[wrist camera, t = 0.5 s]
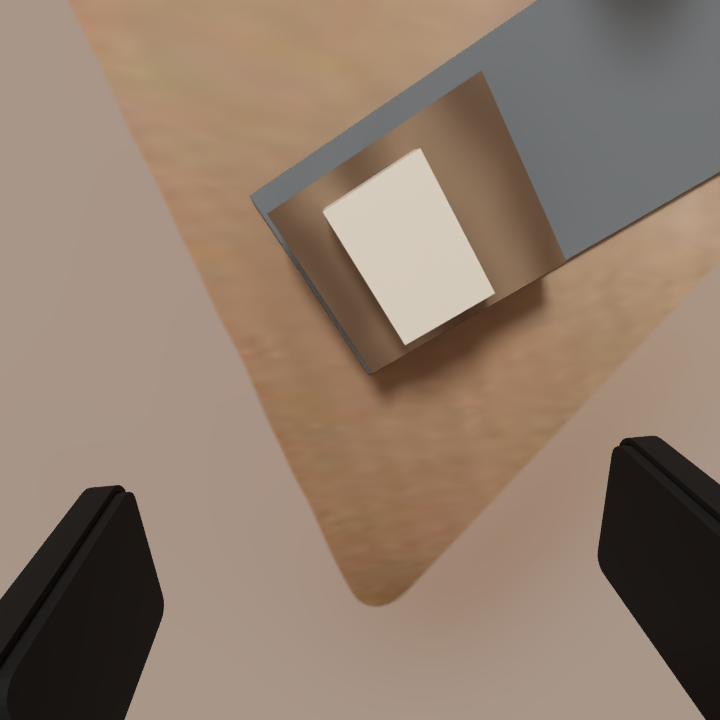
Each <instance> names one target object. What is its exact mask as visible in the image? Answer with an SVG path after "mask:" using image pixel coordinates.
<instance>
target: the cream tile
mask: <svg viewBox="0 0 720 720" xmlns="http://www.w3.org/2000/svg"><path fill="white" fill-rule="evenodd" d="M323 213H324V215H325V217H326V218H327V220H328V221H329V223H330V225H331V226H332V228H333V230H334V231H335V233H336V234H337V236H338V238H339V239H340V241H341V243H342V244H343V246H344V247H345V249H346V251H347V252H348V254H349V255H350V257H351V259H352V260H353V262H354V264H355V265H356V267H357V268H358V270H359V272H360V273H361V275H362V276H363V278H364V280H365V281H366V283H367V285H368V286H369V288H370V289H371V291H372V293H373V294H374V296H375V297H376V299H377V301H378V302H379V304H380V306H381V307H382V309H383V310H384V312H385V314H386V315H387V317H388V318H389V320H390V322H391V323H392V325H393V327H394V328H395V330H396V331H397V333H398V335H399V336H400V338H401V339H402V341H403V343H404V344H405V345H407V344H408V343H410V342H412V341H413V340H415V339H417V338H419V337H420V336H422V335H424V334H426V333H427V332H429V331H431V330H432V329H434V328H436V327H438V326H439V325H441V324H443V323H445V322H446V321H448V320H450V319H451V318H453V317H455V316H457V315H458V314H460V313H462V312H464V311H465V310H467V309H469V308H470V307H472V306H474V305H476V304H477V303H479V302H481V301H483V300H484V299H486V298H488V297H489V296H491V295H493V294H495V292H494V290H493V288H492V286H491V284H490V282H489V280H488V279H487V277H486V275H485V273H484V271H483V269H482V267H481V265H480V263H479V261H478V259H477V257H476V255H475V253H474V251H473V249H472V247H471V246H470V244H469V242H468V240H467V238H466V236H465V234H464V232H463V230H462V228H461V226H460V224H459V222H458V220H457V218H456V216H455V214H454V213H453V211H452V209H451V207H450V205H449V203H448V201H447V199H446V197H445V195H444V193H443V191H442V189H441V187H440V185H439V183H438V182H437V180H436V178H435V176H434V174H433V172H432V170H431V168H430V166H429V164H428V162H427V160H426V158H425V156H424V154H423V152H422V150H421V149H420V148H419V149H415V150H413V151H411V152H410V153H408V154H407V155H405V156H403V157H402V158H400V159H399V160H397V161H396V162H394V163H393V164H391V165H390V166H388V167H387V168H385V169H384V170H382V171H381V172H379V173H377V174H376V175H374V176H373V177H371V178H370V179H368V180H367V181H365V182H364V183H362V184H361V185H359V186H358V187H356V188H355V189H353V190H352V191H350V192H348V193H347V194H345V195H344V196H342V197H341V198H339V199H338V200H336V201H335V202H333V203H332V204H330V205H329V206H327V207H326V208H324V210H323Z"/></svg>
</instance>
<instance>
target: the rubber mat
mask: <svg viewBox="0 0 720 720" xmlns="http://www.w3.org/2000/svg"><path fill="white" fill-rule="evenodd" d="M481 70H482V72H483V74H484V76H485V79H486V81H487V83H488V86H489V88H490V90H491V92H492V95H493V97H494V99H495V101H496V104H497V106H498V108H499V110H500V113H501V115H502V117H503V119H504V122H505V124H506V126H507V128H508V131H509V133H510V135H511V137H512V140H513V142H514V144H515V146H516V149H517V151H518V153H519V155H520V158H521V160H522V162H523V164H524V167H525V169H526V171H527V173H528V176H529V178H530V180H531V183H532V185H533V187H534V189H535V192H536V194H537V196H538V198H539V201H540V203H541V205H542V207H543V210H544V212H545V214H546V216H547V219H548V221H549V223H550V225H551V228H552V230H553V232H554V234H555V237H556V239H557V241H558V243H559V246H560V248H561V250H562V252H563V255H564V257H565V259H566V260H567V259H569V258H571V257H573V256H574V255H576V254H578V253H580V252H581V251H583V250H585V249H586V248H588V247H590V246H592V245H593V244H595V243H597V242H599V241H600V240H602V239H604V238H606V237H607V236H609V235H611V234H613V233H614V232H616V231H618V230H619V229H621V228H623V227H625V226H626V225H628V224H630V223H632V222H633V221H635V220H637V219H639V218H640V217H642V216H644V215H646V214H647V213H649V212H651V211H653V210H654V209H656V208H658V207H659V206H661V205H663V204H665V203H666V202H668V201H670V200H672V199H673V198H675V197H677V196H679V195H680V194H682V193H684V192H686V191H687V190H689V189H691V188H692V187H694V186H696V185H698V184H699V183H701V182H703V181H705V180H706V179H708V178H710V177H712V176H713V175H715V174H717V173H719V172H720V0H537V1H536V2H534V3H533V4H531V5H530V6H528V7H527V8H525V9H524V10H522V11H521V12H519V13H518V14H517V15H515V16H514V17H512V18H511V19H509V20H508V21H506V22H505V23H503V24H502V25H500V26H499V27H497V28H496V29H494V30H493V31H492V32H490V33H489V34H487V35H486V36H484V37H483V38H481V39H480V40H478V41H477V42H475V43H474V44H472V45H471V46H470V47H468V48H467V49H465V50H464V51H462V52H461V53H459V54H458V55H456V56H455V57H453V58H452V59H450V60H449V61H447V62H446V63H445V64H443V65H442V66H440V67H439V68H437V69H436V70H434V71H433V72H431V73H430V74H428V75H427V76H425V77H424V78H422V79H421V80H420V81H418V82H417V83H415V84H414V85H412V86H411V87H409V88H408V89H406V90H405V91H403V92H402V93H400V94H399V95H398V96H396V97H395V98H393V99H392V100H390V101H389V102H387V103H386V104H384V105H383V106H381V107H380V108H378V109H377V110H375V111H374V112H373V113H371V114H370V115H368V116H367V117H365V118H364V119H362V120H361V121H359V122H358V123H356V124H355V125H353V126H352V127H350V128H349V129H348V130H346V131H345V132H343V133H342V134H340V135H339V136H337V137H336V138H334V139H333V140H331V141H330V142H328V143H327V144H326V145H324V146H323V147H321V148H320V149H318V150H317V151H315V152H314V153H312V154H311V155H309V156H308V157H306V158H305V159H303V160H302V161H301V162H299V163H298V164H296V165H295V166H293V167H292V168H290V169H289V170H287V171H286V172H284V173H283V174H281V175H280V176H278V177H277V178H276V179H274V180H273V181H271V182H270V183H268V184H267V185H265V186H264V187H262V188H261V189H259V190H258V191H256V192H255V193H253V194H252V195H251V196H250V198H251V199H252V201H253V202H254V204H255V205H256V207H257V208H258V210H259V211H260V213H261V214H262V216H263V217H264V219H265V220H266V222H267V223H268V225H269V226H270V228H271V229H272V231H273V232H274V234H275V235H276V237H277V238H278V240H279V241H280V243H281V244H282V246H283V247H284V249H285V250H286V252H287V253H288V255H289V256H290V258H291V259H292V261H293V262H294V264H295V265H296V267H297V268H298V270H299V271H300V273H301V274H302V276H303V277H304V279H305V280H306V282H307V283H308V285H309V286H310V288H311V289H312V291H313V292H314V294H315V295H316V297H317V298H318V300H319V301H320V303H321V304H322V306H323V307H324V309H325V310H326V312H327V313H328V315H329V316H330V318H331V319H332V321H333V322H334V324H335V325H336V327H337V328H338V330H339V331H340V332H341V334H342V335H343V337H344V338H345V340H346V341H347V343H348V344H349V346H350V347H351V349H352V350H353V352H354V353H355V355H356V356H357V358H358V359H359V361H360V362H361V364H362V365H363V367H364V368H365V370H366V371H367V373H368V374H369V373H371V370H370V369H369V367H368V366H367V364H366V363H365V361H364V360H363V358H362V357H361V355H360V354H359V352H358V351H357V349H356V348H355V346H354V345H353V343H352V341H351V340H350V338H349V337H348V335H347V334H346V332H345V331H344V329H343V328H342V326H341V325H340V323H339V322H338V320H337V319H336V317H335V316H334V314H333V313H332V311H331V310H330V308H329V307H328V305H327V304H326V302H325V301H324V299H323V298H322V296H321V295H320V293H319V292H318V290H317V289H316V287H315V286H314V284H313V283H312V281H311V280H310V278H309V277H308V275H307V274H306V272H305V271H304V269H303V268H302V266H301V265H300V263H299V262H298V260H297V259H296V257H295V256H294V254H293V253H292V251H291V250H290V248H289V247H288V245H287V244H286V242H285V241H284V239H283V238H282V236H281V235H280V233H279V232H278V230H277V228H276V227H275V225H274V224H273V222H272V221H271V219H270V218H269V216H268V215H267V213H269V212H270V211H272V210H273V209H275V208H276V207H278V206H279V205H281V204H282V203H284V202H285V201H287V200H288V199H290V198H291V197H293V196H294V195H296V194H297V193H299V192H300V191H302V190H303V189H305V188H306V187H308V186H309V185H311V184H312V183H314V182H315V181H317V180H318V179H320V178H321V177H323V176H324V175H326V174H327V173H329V172H330V171H332V170H333V169H335V168H336V167H338V166H339V165H341V164H342V163H344V162H345V161H347V160H348V159H350V158H351V157H353V156H354V155H356V154H357V153H359V152H360V151H362V150H363V149H365V148H366V147H368V146H369V145H371V144H372V143H374V142H375V141H377V140H378V139H380V138H381V137H382V136H384V135H385V134H387V133H388V132H390V131H391V130H393V129H394V128H396V127H397V126H399V125H400V124H402V123H403V122H405V121H406V120H408V119H409V118H411V117H412V116H414V115H415V114H417V113H418V112H420V111H421V110H423V109H424V108H426V107H427V106H429V105H430V104H432V103H433V102H435V101H436V100H438V99H439V98H441V97H442V96H444V95H445V94H447V93H448V92H450V91H451V90H453V89H454V88H456V87H457V86H459V85H460V84H462V83H463V82H465V81H466V80H468V79H469V78H471V77H472V76H474V75H475V74H477V73H478V72H480V71H481Z"/></svg>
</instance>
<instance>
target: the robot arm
mask: <svg viewBox="0 0 720 720" xmlns="http://www.w3.org/2000/svg"><path fill="white" fill-rule="evenodd" d="M598 561H599V565H600V568H601V570H602V572H603V574H604V575H605V576H606V578H607V579H608V581H609V582H610V584H611V585H612V587H613V588H614V589H615V591H616V592H617V594H618V595H619V596H620V598H621V599H622V601H623V602H624V604H625V605H626V607H627V608H628V609H629V611H630V612H631V614H632V615H633V617H634V618H635V619H636V621H637V622H638V624H639V625H640V626H641V628H642V629H643V631H644V632H645V634H646V635H647V637H648V638H649V639H650V641H651V642H652V644H653V645H654V646H655V648H656V649H657V651H658V652H659V654H660V655H661V656H662V658H663V659H664V661H665V662H666V664H667V665H668V667H669V668H670V669H671V671H672V672H673V674H674V675H675V676H676V678H677V679H678V681H679V682H680V684H681V685H682V687H683V688H684V689H685V691H686V692H687V694H688V695H689V697H690V698H691V699H692V701H693V702H694V703H695V705H696V706H697V708H698V709H699V711H700V712H701V714H702V715H703V716H704V718H705V719H706V720H720V484H718V483H717V482H715V480H713V479H712V478H711V477H709V476H708V475H707V474H706V473H704V472H703V471H702V470H700V469H699V468H698V467H696V466H695V465H694V464H693V463H692V462H690V461H689V460H688V459H686V458H685V457H684V456H682V455H681V454H680V453H679V452H677V451H676V450H675V449H674V448H672V447H671V446H670V445H668V444H667V443H666V442H665V441H663V440H662V439H661V438H659V437H657V436H644V437H634V438H626V439H623V440H622V442H621V443H620V445H619V446H617V447H615V448H614V450H613V453H612V457H611V464H610V471H609V478H608V485H607V491H606V499H605V506H604V512H603V519H602V526H601V534H600V540H599V547H598ZM163 610H164V599H163V595H162V591H161V588H160V584H159V580H158V577H157V573H156V570H155V566H154V563H153V559H152V556H151V552H150V548H149V545H148V542H147V538H146V535H145V531H144V527H143V524H142V520H141V517H140V513H139V509H138V506H137V502H136V499H135V496H134V494H133V493H132V492H125V489H124V488H123V487H122V486H120V485H116V486H104V487H93V488H88V489H86V490H85V491H84V492H83V493H82V494H81V495H80V497H79V498H78V499H77V501H76V502H75V503H74V505H73V506H72V507H71V508H70V510H69V511H68V512H67V514H66V515H65V516H64V518H63V519H62V520H61V522H60V523H59V524H58V525H57V527H56V528H55V529H54V531H53V532H52V533H51V534H50V536H49V537H48V538H47V540H46V541H45V542H44V544H43V545H42V546H41V547H40V549H39V550H38V551H37V553H36V554H35V555H34V557H33V558H32V559H31V560H30V562H29V563H28V564H27V566H26V567H25V568H24V570H23V571H22V572H21V573H20V575H19V576H18V577H17V579H16V580H15V581H14V583H13V584H12V585H11V587H10V588H9V589H8V590H7V592H6V593H5V594H4V596H3V597H2V598H1V600H0V720H124V719H125V716H126V714H127V711H128V709H129V706H130V703H131V700H132V698H133V695H134V692H135V690H136V687H137V684H138V682H139V679H140V676H141V674H142V671H143V668H144V665H145V663H146V660H147V657H148V655H149V652H150V649H151V646H152V644H153V641H154V638H155V636H156V633H157V630H158V628H159V625H160V622H161V619H162V616H163Z"/></svg>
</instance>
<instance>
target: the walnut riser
mask: <svg viewBox="0 0 720 720" xmlns="http://www.w3.org/2000/svg"><path fill="white" fill-rule="evenodd" d="M419 148H420V149H421V150H422V152H423V154H424V156H425V158H426V160H427V162H428V164H429V166H430V168H431V170H432V172H433V174H434V176H435V178H436V180H437V182H438V183H439V185H440V187H441V189H442V191H443V193H444V195H445V197H446V199H447V201H448V203H449V205H450V207H451V209H452V211H453V213H454V214H455V216H456V218H457V220H458V222H459V224H460V226H461V228H462V230H463V232H464V234H465V236H466V238H467V240H468V242H469V244H470V246H471V247H472V249H473V251H474V253H475V255H476V257H477V259H478V261H479V263H480V265H481V267H482V269H483V271H484V273H485V275H486V277H487V279H488V280H489V282H490V284H491V286H492V288H493V290H494V292H495V294H493V295H491V296H489V297H488V298H486V299H484V300H483V301H481V302H479V303H477V304H476V305H474V306H472V307H470V308H469V309H467V310H465V311H464V312H462V313H460V314H458V315H457V316H455V317H453V318H451V319H450V320H448V321H446V322H445V323H443V324H441V325H439V326H438V327H436V328H434V329H432V330H431V331H429V332H427V333H426V334H424V335H422V336H420V337H419V338H417V339H415V340H413V341H412V342H410V343H408V344H407V345H405V344H404V343H403V341H402V339H401V338H400V336H399V335H398V333H397V331H396V330H395V328H394V327H393V325H392V323H391V322H390V320H389V318H388V317H387V315H386V314H385V312H384V310H383V309H382V307H381V306H380V304H379V302H378V301H377V299H376V297H375V296H374V294H373V293H372V291H371V289H370V288H369V286H368V285H367V283H366V281H365V280H364V278H363V276H362V275H361V273H360V272H359V270H358V268H357V267H356V265H355V264H354V262H353V260H352V259H351V257H350V255H349V254H348V252H347V251H346V249H345V247H344V246H343V244H342V243H341V241H340V239H339V238H338V236H337V234H336V233H335V231H334V230H333V228H332V226H331V225H330V223H329V221H328V220H327V218H326V217H325V215H324V213H323V210H324V208H326V207H327V206H329V205H330V204H332V203H333V202H335V201H336V200H338V199H339V198H341V197H342V196H344V195H345V194H347V193H348V192H350V191H352V190H353V189H355V188H356V187H358V186H359V185H361V184H362V183H364V182H365V181H367V180H368V179H370V178H371V177H373V176H374V175H376V174H377V173H379V172H381V171H382V170H384V169H385V168H387V167H388V166H390V165H391V164H393V163H394V162H396V161H397V160H399V159H400V158H402V157H403V156H405V155H407V154H408V153H410V152H411V151H413V150H415V149H419ZM267 215H268V216H269V218H270V219H271V221H272V222H273V224H274V225H275V227H276V228H277V230H278V232H279V233H280V235H281V236H282V238H283V239H284V241H285V242H286V244H287V245H288V247H289V248H290V250H291V251H292V253H293V254H294V256H295V257H296V259H297V260H298V262H299V263H300V265H301V266H302V268H303V269H304V271H305V272H306V274H307V275H308V277H309V278H310V280H311V281H312V283H313V284H314V286H315V287H316V289H317V290H318V292H319V293H320V295H321V296H322V298H323V299H324V301H325V302H326V304H327V305H328V307H329V308H330V310H331V311H332V313H333V314H334V316H335V317H336V319H337V320H338V322H339V323H340V325H341V326H342V328H343V329H344V331H345V332H346V334H347V335H348V337H349V338H350V340H351V341H352V343H353V345H354V346H355V348H356V349H357V351H358V352H359V354H360V355H361V357H362V358H363V360H364V361H365V363H366V364H367V366H368V367H369V369H370V370H371V372H372V373H374V372H376V371H378V370H379V369H381V368H383V367H385V366H386V365H388V364H390V363H392V362H393V361H395V360H397V359H398V358H400V357H402V356H404V355H405V354H407V353H409V352H411V351H412V350H414V349H416V348H418V347H419V346H421V345H423V344H425V343H426V342H428V341H430V340H432V339H433V338H435V337H437V336H438V335H440V334H442V333H444V332H445V331H447V330H449V329H451V328H452V327H454V326H456V325H458V324H459V323H461V322H463V321H465V320H466V319H468V318H470V317H472V316H473V315H475V314H477V313H478V312H480V311H482V310H484V309H485V308H487V307H489V306H491V305H492V304H494V303H496V302H498V301H499V300H501V299H503V298H505V297H506V296H508V295H510V294H512V293H513V292H515V291H517V290H519V289H520V288H522V287H524V286H525V285H527V284H529V283H531V282H532V281H534V280H536V279H538V278H539V277H541V276H543V275H545V274H546V273H548V272H550V271H552V270H553V269H555V268H557V267H559V266H560V265H562V264H564V263H565V262H567V261H566V259H565V257H564V255H563V252H562V250H561V248H560V246H559V243H558V241H557V239H556V237H555V234H554V232H553V230H552V228H551V225H550V223H549V221H548V219H547V216H546V214H545V212H544V210H543V207H542V205H541V203H540V201H539V198H538V196H537V194H536V192H535V189H534V187H533V185H532V183H531V180H530V178H529V176H528V173H527V171H526V169H525V167H524V164H523V162H522V160H521V158H520V155H519V153H518V151H517V149H516V146H515V144H514V142H513V140H512V137H511V135H510V133H509V131H508V128H507V126H506V124H505V122H504V119H503V117H502V115H501V113H500V110H499V108H498V106H497V104H496V101H495V99H494V97H493V95H492V92H491V90H490V88H489V86H488V83H487V81H486V79H485V76H484V74H483V72H482V70H481V71H480V72H478V73H477V74H475V75H474V76H472V77H471V78H469V79H468V80H466V81H465V82H463V83H462V84H460V85H459V86H457V87H456V88H454V89H453V90H451V91H450V92H448V93H447V94H445V95H444V96H442V97H441V98H439V99H438V100H436V101H435V102H433V103H432V104H430V105H429V106H427V107H426V108H424V109H423V110H421V111H420V112H418V113H417V114H415V115H414V116H412V117H411V118H409V119H408V120H406V121H405V122H403V123H402V124H400V125H399V126H397V127H396V128H394V129H393V130H391V131H390V132H388V133H387V134H385V135H384V136H382V137H381V138H380V139H378V140H377V141H375V142H374V143H372V144H371V145H369V146H368V147H366V148H365V149H363V150H362V151H360V152H359V153H357V154H356V155H354V156H353V157H351V158H350V159H348V160H347V161H345V162H344V163H342V164H341V165H339V166H338V167H336V168H335V169H333V170H332V171H330V172H329V173H327V174H326V175H324V176H323V177H321V178H320V179H318V180H317V181H315V182H314V183H312V184H311V185H309V186H308V187H306V188H305V189H303V190H302V191H300V192H299V193H297V194H296V195H294V196H293V197H291V198H290V199H288V200H287V201H285V202H284V203H282V204H281V205H279V206H278V207H276V208H275V209H273V210H272V211H270V212H269V213H267Z"/></svg>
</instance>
